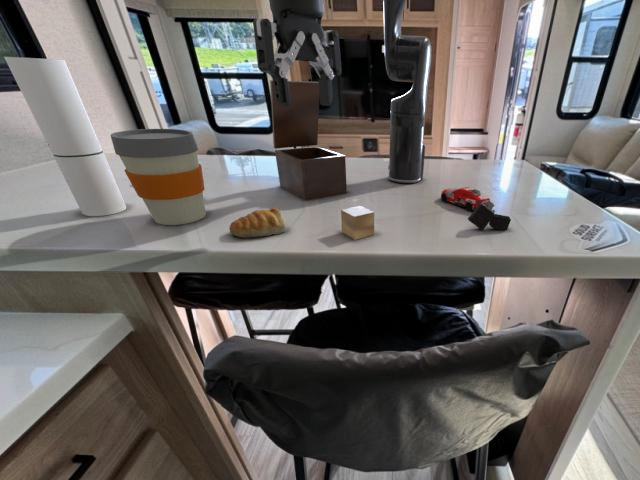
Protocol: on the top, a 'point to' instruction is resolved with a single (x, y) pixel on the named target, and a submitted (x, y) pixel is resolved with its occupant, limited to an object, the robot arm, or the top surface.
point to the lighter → (488, 217)
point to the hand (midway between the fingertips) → (306, 106)
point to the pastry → (259, 224)
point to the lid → (296, 116)
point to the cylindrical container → (68, 133)
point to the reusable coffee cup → (164, 172)
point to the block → (357, 222)
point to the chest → (311, 172)
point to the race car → (464, 197)
